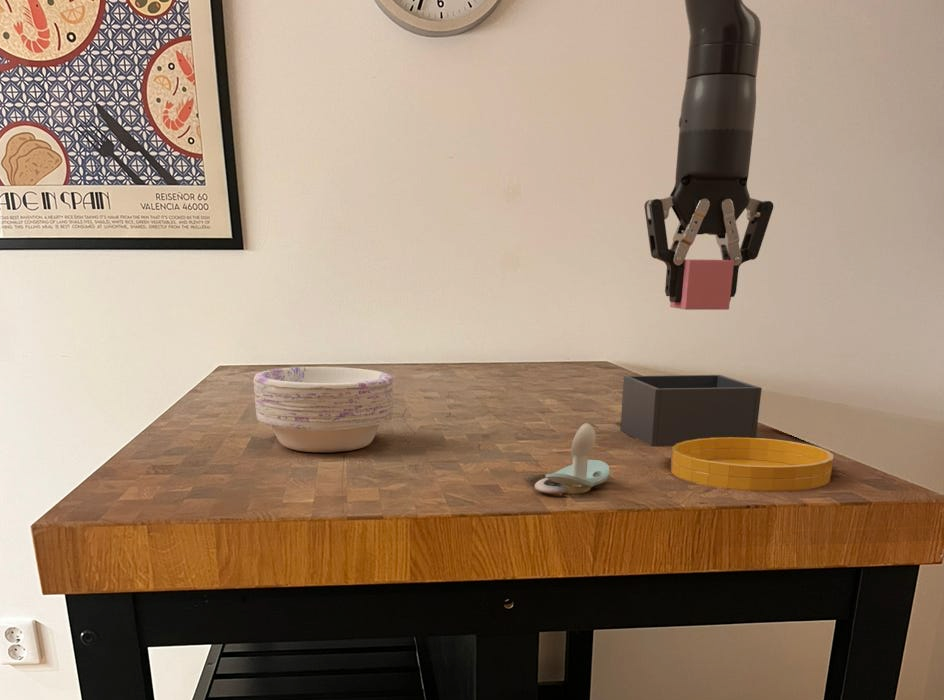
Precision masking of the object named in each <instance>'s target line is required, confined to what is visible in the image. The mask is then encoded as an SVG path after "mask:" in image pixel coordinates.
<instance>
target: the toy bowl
mask: <svg viewBox="0 0 944 700" xmlns="http://www.w3.org/2000/svg"><path fill="white" fill-rule="evenodd" d="M671 447H672V450H671V459H670V472H671V474H672V475H674V476H675V477H677V478H678V479H681V480H683V481H686V482H690V483H693V484H697V485H700V486H701V485H702V486H707V487H712V488H719V489H726V490H735V491H746V492H795V491H805V490H812V489H817V488H820V487H823V486H826V485H827V484H829V483H830V481H831V479H832V472H833V464H834V458H835V455H834V454H833V453H832V452H831V451H829V450H827V449H824V448H822V447H820V446H816V445H812V444H808V443H802V442H796V441H791V440H785V439H783V440H782V439H776V438H775V439H773V438H763V437H762V438H761V437H756V438H746V437H714V438H701V439H693V440H687V441H683V442H680V443H677V444H675V445H674V446H671Z"/></svg>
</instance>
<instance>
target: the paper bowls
mask: <svg viewBox="0 0 944 700" xmlns="http://www.w3.org/2000/svg"><path fill="white" fill-rule="evenodd" d="M393 383H394V379H393V376H392V375H390V374H389V373H386V372H383V371H379V370H373V369H367V368H357V367H356V368H354V367H341V366H299V367H298V366H296V367H284V368H275V369H268V370H265V371H264V370H263V371H260V372H258V373H256V374H255V375H254V376H253V391H254V392H253V393H254V403H255V404H254V405H255V416H256V419H257V421H258V422H259V423H261V424H265V425H267V426H270V427H271V428H272V430H273V432H274V434H275V436H276V438H277V440H278V442H279V444H281V445H282V446H283V447H286V448H287V449H290V450H294V451H298V452H306V453H322V454H323V453H324V454H325V453H326V454H327V453H342V452H351V451H355V450H359V449H362V448H366V447H367V446H368V445H370V444H371V443H372V442H373V441H374V439H375V436H376V434H377V432H378V429H379V426H380V425H381V424H385V423H389V422H390V421H391V420H392V419H393V417H394V416H393V414H394V388H393V387H394V385H393Z"/></svg>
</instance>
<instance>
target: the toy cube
mask: <svg viewBox="0 0 944 700" xmlns="http://www.w3.org/2000/svg"><path fill="white" fill-rule="evenodd" d="M682 266H685V267H684V278H683V289H682V299H681V302H670V301H669V302H670V303H669V307H670V308H674V309H680V310H686V311H687V310H688V311H689V310H690V311H692V310H693V311H695V310H699V311H700V310H705V311H706V310H711V311H712V310H718V311H719V310H720V311H721V310H722V311H723V310H730V304H731V303H730V302H731V300H730V295H731V286H732V276H733V267H734V260H723V259H685V260H684V262H683V263H682Z"/></svg>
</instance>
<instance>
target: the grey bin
mask: <svg viewBox="0 0 944 700" xmlns="http://www.w3.org/2000/svg"><path fill="white" fill-rule="evenodd" d="M761 397H762V387H761V386H758V385H755V384H752V383H751V384H750V383H748V382H744V381H741V380H738V379H735V378H731V377H729V376H725V375H721V374H684V375H683V374H677V375H673V374H672V375H669V374H668V375H624V376H623V384H622V400H621V416H620V431H621V432H623V433H624V434H626V435H627V436H629V437H631V438H632V439H635V440H636V439H638V440H639V441H641V442H643V443H644V444H646V445H648V446H650V447H651V448H652V447H656V448H657V447H673V446H674V445H675V444H677V443H680V442H683V441H687V440H693V439H701V438H714V437H746V438H757V431H758V422H759V415H760V407H761V406H760V405H761V399H762V398H761Z"/></svg>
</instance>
